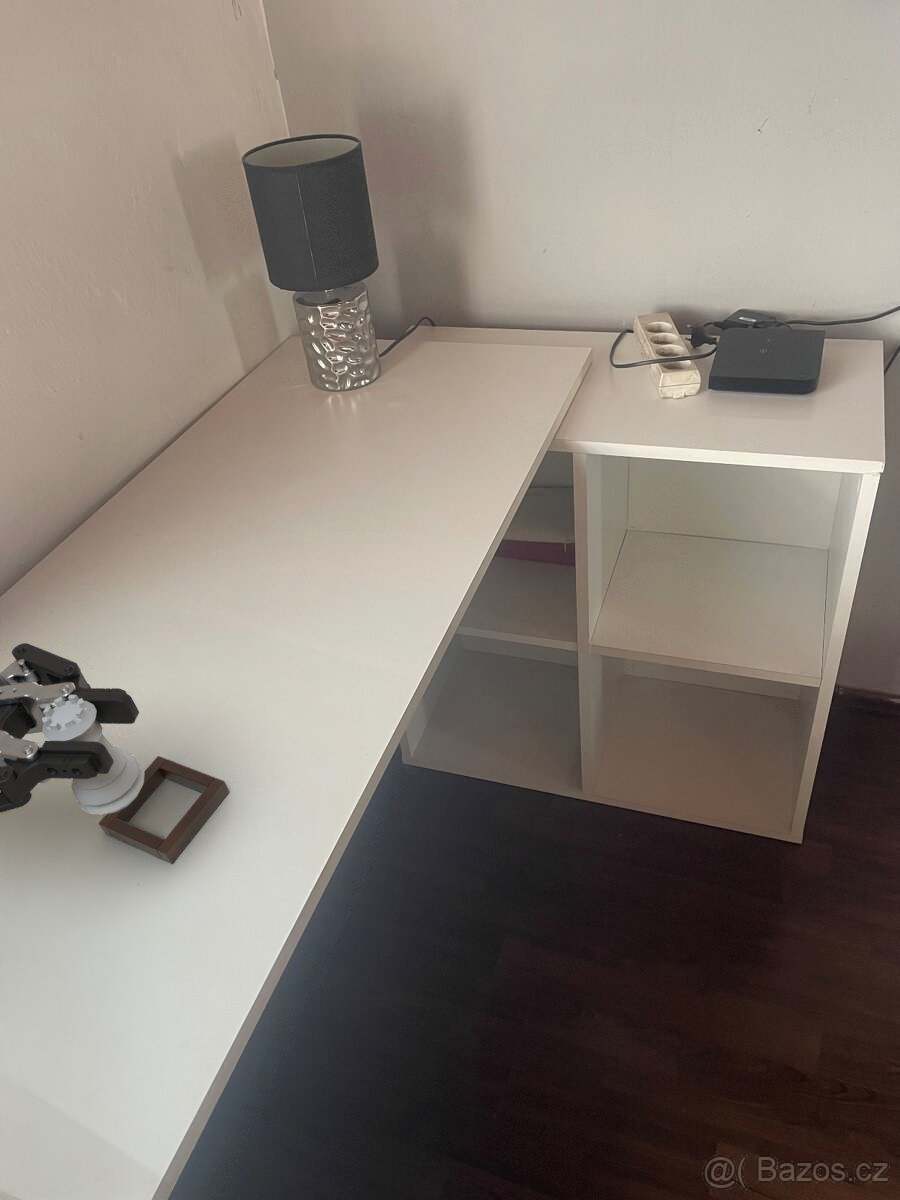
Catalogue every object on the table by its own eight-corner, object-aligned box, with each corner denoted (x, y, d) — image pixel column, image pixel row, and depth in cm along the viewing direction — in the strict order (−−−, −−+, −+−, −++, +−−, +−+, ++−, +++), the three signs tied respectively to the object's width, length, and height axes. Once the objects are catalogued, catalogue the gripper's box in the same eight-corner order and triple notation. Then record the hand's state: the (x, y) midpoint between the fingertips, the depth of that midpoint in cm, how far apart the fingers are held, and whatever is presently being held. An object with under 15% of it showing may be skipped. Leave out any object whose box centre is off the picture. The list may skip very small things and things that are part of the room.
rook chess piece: (65, 809, 56) (8, 730, 51) (108, 756, 59) (59, 676, 54) (119, 826, 55) (66, 746, 50) (160, 771, 58) (115, 690, 53)
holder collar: (172, 864, 66) (165, 853, 65) (105, 834, 69) (97, 823, 68) (230, 791, 71) (224, 780, 70) (164, 766, 74) (158, 755, 73)
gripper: (-241, 782, 48) (39, 790, 45) (-92, 612, 59) (143, 608, 55) (-161, 857, 53) (95, 869, 50) (-38, 687, 63) (181, 688, 60)
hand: (119, 732), depth 53 cm, fingers closed on rook chess piece, 3 cm apart
